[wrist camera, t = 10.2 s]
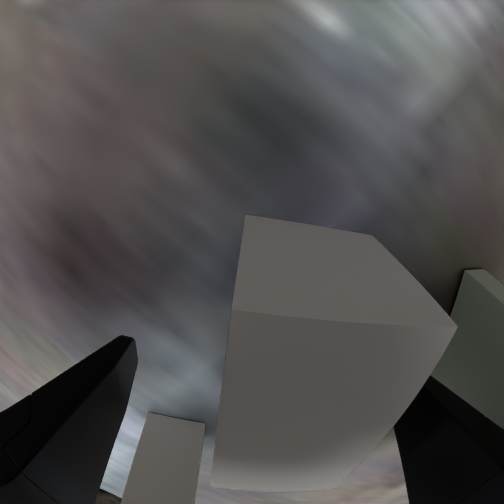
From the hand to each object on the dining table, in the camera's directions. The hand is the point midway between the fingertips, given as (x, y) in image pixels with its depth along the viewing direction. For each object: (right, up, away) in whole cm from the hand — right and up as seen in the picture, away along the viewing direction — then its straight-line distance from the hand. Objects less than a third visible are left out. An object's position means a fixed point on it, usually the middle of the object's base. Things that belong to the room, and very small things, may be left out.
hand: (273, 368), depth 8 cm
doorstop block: (+1, +1, +2) cm, 3 cm away
